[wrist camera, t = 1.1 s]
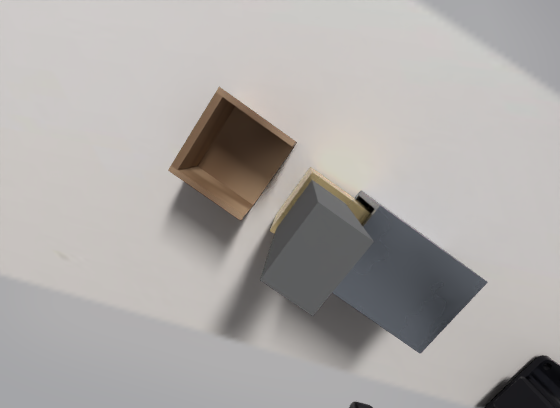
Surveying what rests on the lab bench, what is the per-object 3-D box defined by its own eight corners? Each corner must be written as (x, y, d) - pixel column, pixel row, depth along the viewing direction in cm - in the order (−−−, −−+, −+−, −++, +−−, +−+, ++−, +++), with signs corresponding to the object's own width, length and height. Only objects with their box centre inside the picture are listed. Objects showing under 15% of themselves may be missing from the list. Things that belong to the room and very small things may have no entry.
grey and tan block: (430, 252, 19) (562, 362, 9) (392, 296, 19) (478, 440, 10) (310, 166, 18) (318, 189, 9) (275, 214, 19) (249, 283, 9)
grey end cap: (442, 248, 19) (487, 282, 14) (392, 304, 20) (420, 353, 15) (360, 190, 19) (380, 205, 14) (314, 250, 20) (318, 283, 15)
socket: (296, 142, 18) (295, 141, 15) (251, 207, 19) (240, 220, 16) (234, 97, 18) (219, 86, 15) (191, 166, 19) (168, 170, 16)
